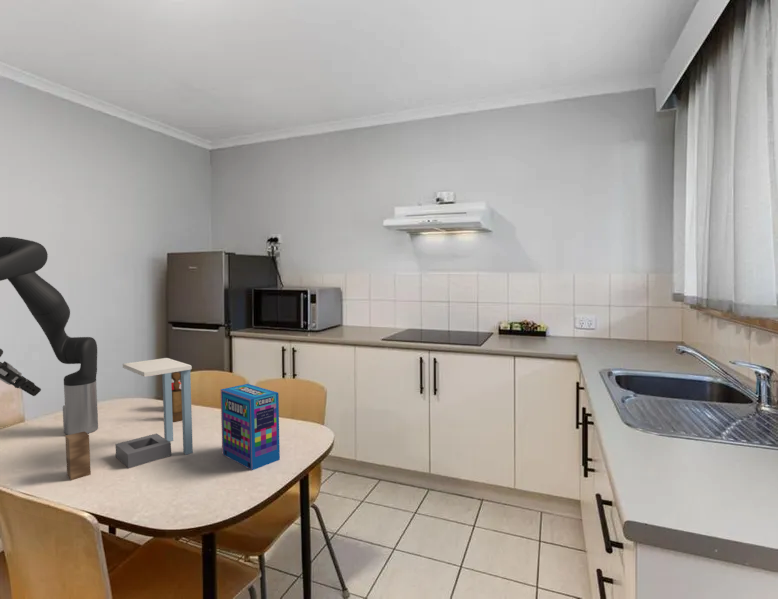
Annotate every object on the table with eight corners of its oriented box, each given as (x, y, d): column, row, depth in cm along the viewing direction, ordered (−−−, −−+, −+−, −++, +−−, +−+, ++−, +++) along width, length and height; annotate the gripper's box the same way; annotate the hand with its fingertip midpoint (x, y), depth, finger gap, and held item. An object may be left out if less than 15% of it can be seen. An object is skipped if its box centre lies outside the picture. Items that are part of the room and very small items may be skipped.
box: (222, 454, 129) (220, 389, 128) (249, 445, 136) (247, 383, 135) (252, 470, 118) (250, 399, 117) (279, 459, 125) (278, 392, 124)
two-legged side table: (147, 467, 120) (144, 372, 119) (125, 449, 133) (122, 363, 132) (194, 453, 130) (191, 365, 128) (169, 438, 143) (167, 357, 141)
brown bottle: (181, 421, 159) (179, 374, 158) (164, 421, 159) (162, 374, 158) (189, 416, 166) (188, 370, 165) (173, 416, 166) (172, 370, 165)
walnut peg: (70, 480, 113) (69, 439, 112) (67, 475, 116) (65, 435, 115) (90, 474, 116) (89, 435, 116) (86, 469, 119) (84, 431, 119)
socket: (128, 468, 120) (127, 454, 120) (115, 457, 128) (115, 443, 127) (171, 455, 128) (170, 442, 128) (157, 445, 136) (156, 433, 136)
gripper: (-12, 341, 98) (53, 382, 107) (-18, 336, 107) (42, 374, 116) (-43, 368, 94) (26, 407, 103) (-47, 360, 103) (17, 397, 112)
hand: (34, 390), depth 109 cm, fingers open, 8 cm apart
